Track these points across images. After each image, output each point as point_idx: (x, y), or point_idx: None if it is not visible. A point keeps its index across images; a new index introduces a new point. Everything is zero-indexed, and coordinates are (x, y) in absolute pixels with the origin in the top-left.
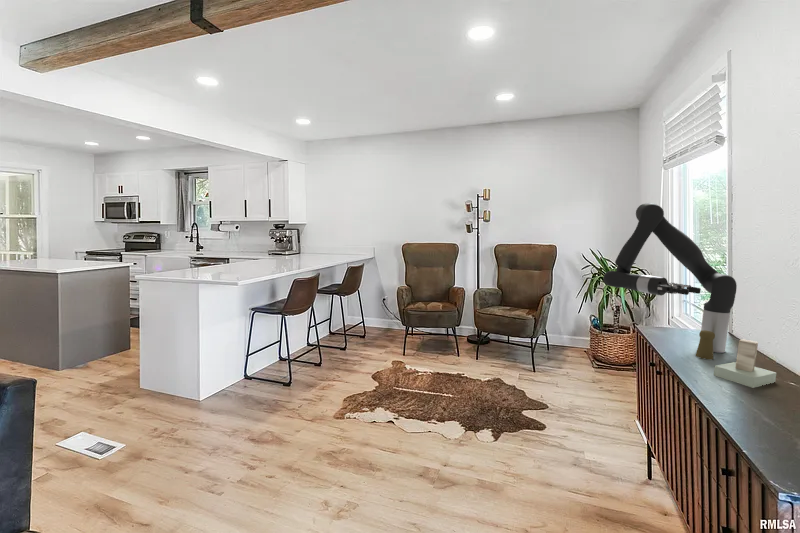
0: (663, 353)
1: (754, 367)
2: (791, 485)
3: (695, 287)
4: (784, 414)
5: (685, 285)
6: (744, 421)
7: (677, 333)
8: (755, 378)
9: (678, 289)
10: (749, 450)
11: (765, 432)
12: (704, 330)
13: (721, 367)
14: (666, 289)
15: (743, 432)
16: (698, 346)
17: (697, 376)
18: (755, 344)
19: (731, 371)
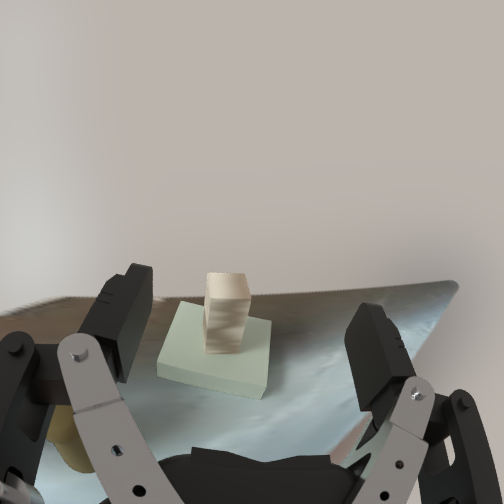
0: None
1: (202, 325)
2: (451, 280)
3: (131, 290)
4: (341, 296)
5: (18, 393)
6: (409, 314)
7: None
8: (266, 321)
9: (411, 370)
10: (447, 299)
11: (409, 299)
12: (52, 420)
13: (264, 374)
14: (451, 468)
15: (430, 309)
16: (82, 457)
17: (312, 414)
18: (244, 275)
19: (268, 356)
